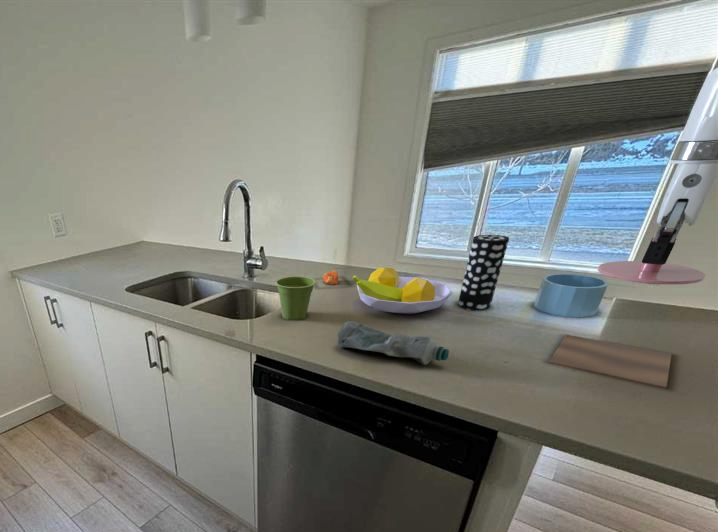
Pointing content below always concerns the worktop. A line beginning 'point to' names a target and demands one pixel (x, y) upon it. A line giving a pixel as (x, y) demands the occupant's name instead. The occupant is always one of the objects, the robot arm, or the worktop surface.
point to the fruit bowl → (401, 292)
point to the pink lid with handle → (651, 272)
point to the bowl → (570, 295)
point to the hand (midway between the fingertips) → (653, 260)
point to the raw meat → (331, 278)
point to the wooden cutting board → (614, 360)
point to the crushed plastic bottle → (390, 343)
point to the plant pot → (295, 296)
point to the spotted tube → (482, 271)
